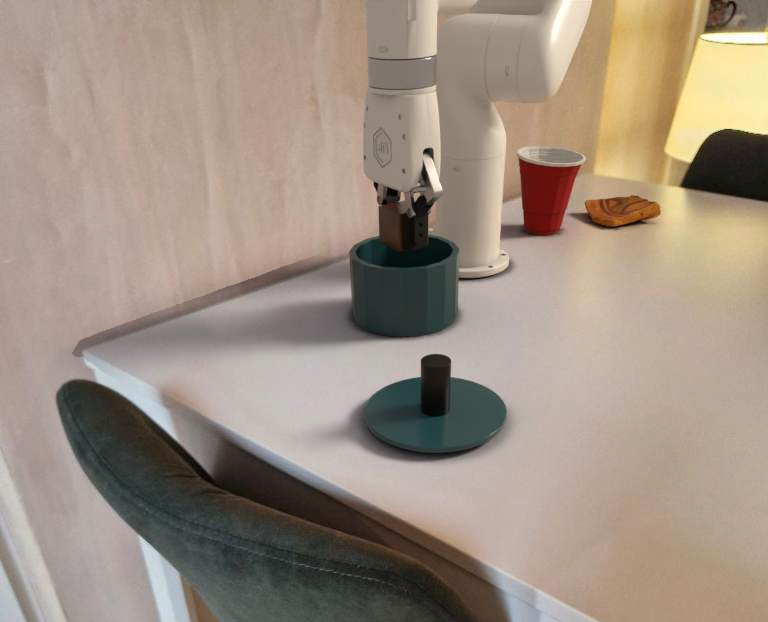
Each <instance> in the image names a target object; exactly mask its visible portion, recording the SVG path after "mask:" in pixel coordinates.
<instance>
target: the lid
mask: <svg viewBox="0 0 768 622" xmlns="http://www.w3.org/2000/svg"><path fill="white" fill-rule="evenodd" d="M507 412H508V410H507V406H506V404H505V402H504V400H503V398H502V397H501V396H500V395H498V394H497V393H496V392H495V391H493V390H492V389H491V388H489V387H487V386H485V385H483V384H481V383H478V382H475V381H472V380H469V379H464V378H460V377H455V376H453V377H452V358H450V357H449V356H448V355H446V354H443V353H442V354H441V353H430V354H427V355H424V356H423V357H421V359H420V376H417V377H411V378H406V379H402V380H399V381H395V382H393V383H390V384H387V385H386V386H384V387H382V388H380V389H379V390H377V391H376V392H375V393H373V394H372V395H371V396H370V398H369V399H368V400H367V402H366V403H365V407H364V422H365V424H366V426H367V428H368V429H369V431H370V432H371V433H372V434H373V435H374V436H375V437H377V438H378V439H380V441H383V442H385V443H387V445H391V446H394V447H396V448H399V449H403V450H406V451H412V452H419V453H431V454H439V453H440V454H442V453H443V454H444V453H454V452H460V451H464V450H469V449H472V448H475V447H478V446H481V445H483V444H485V443H487V442H489V441H491V440H493V439H494V438H495V437H496V436H497V435H499V434H500V432H501V431H502V430H503V428H504V427H505V425H506V422H507Z"/></svg>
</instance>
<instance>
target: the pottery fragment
mask: <svg viewBox="0 0 768 622" xmlns="http://www.w3.org/2000/svg"><path fill="white" fill-rule="evenodd" d="M584 206H585V207H584V208H585V210H586V212H587V213H588V215H589V216H590V218H591V221H592V222H593V223H595V224H598V225H601V226H605V227H618V226H623V225H627V224H630V223H634V222H637V221H647V220H651V219H655V218H657V217H659V216H661V214H662V210H661V206H660V204H659V203H658V202H657V201H651V200H649V199H647V198H642V197H640V196H639V195H634V194H631V195H630V196H615V197H608V198H598V199H587V200H584Z"/></svg>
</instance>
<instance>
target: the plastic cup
mask: <svg viewBox="0 0 768 622" xmlns="http://www.w3.org/2000/svg"><path fill="white" fill-rule="evenodd" d="M516 156H517V158H518V167H519V174H520V191H521V193H520V194H521V208H522V216H523V226H524V230H525V232H527V233H529V234H532V235H539V236H550V235H556V234H557V233H559V232H560V230H561V227H562V225H563V221H564V218H565V213H566V211H567V209H568V205H569V202H570V199H571V195H572V192H573V188H574V185H575V182H576V178H577V176H578V173H579V172H580V169H581V167H582V165H583V164H584V163H585V161H586V159H587V157H586V156H585V155H584V154H582V153H580V152H578V151H575V150H571V149H567V148H564V147H556V146H548V145H547V146H544V145H533V146H524V147H520V148H518V149H517V150H516Z"/></svg>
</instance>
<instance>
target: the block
mask: <svg viewBox="0 0 768 622" xmlns="http://www.w3.org/2000/svg"><path fill="white" fill-rule="evenodd" d="M377 207H378V234H379V235H378V236H379V242H380V243H382V244H384V245H386V246H388V247H390V248H392V249H394V250H396V251H398V252H400V251H404V250H405V249H404V227H403V217H404V216H407V212H406V204H405V200H400V201H399V202H396V203H391V204H386V205H378V206H377ZM427 245H428V244H427Z"/></svg>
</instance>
